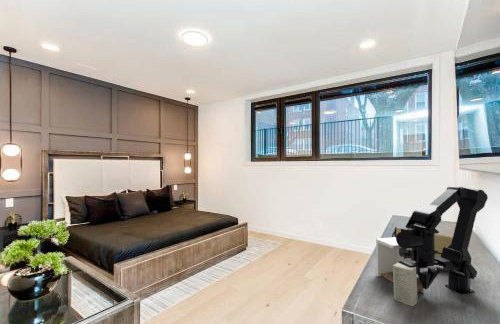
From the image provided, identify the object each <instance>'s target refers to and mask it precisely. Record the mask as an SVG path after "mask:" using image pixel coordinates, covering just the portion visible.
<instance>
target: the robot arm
mask: <svg viewBox="0 0 500 324" xmlns="http://www.w3.org/2000/svg"><path fill="white" fill-rule="evenodd" d="M488 199H489V198H488V195H487V193H486V192H485V190H483V189H479V188H478V189H477V188H468V187H467V188H466V187H463V186H456V185H451V186H448V187H446V189H445V191H444V192H442V193H441V194H440V195H439V196H438V197H437V198H436V199H434V200H433V201H432V202H431V203H429V204H428V205H425V206H421V207H419V208H417V209H414V211H412V213H411V216H410V217H409V219H408V222H407V223H406V225H405V228H404V227H400V228H401V232H399V233H398V234H397V236H396V241H397V244H398V245H399V246H400V247H401V248H399V255H400V256H401V257H403V258H404V259H406V258H411V260H412V261H416V263H413V262H411V261H408V260H403V261H399V262H398V263H400V264H403V265H405V266H407V267H410V268H413V267H416V275H417V277H418V276H419V279H420V281H421V284H422V286H423V290H429V288H430V286H431V284H433V282H434V280H435V279H436V277H437V276H438V275H439V274H441V270H437V269H438V268H437V267H442V266H443V267H442V268H443V269H442V270H447V271H450V272H448V279H447V280H448V281H447V282H448V284H444V287H445V288H448V289H449V290H452V291H454V292H456V293H458V294H460V295H467V294H473V293H476V291H475V290H473V289H471V280H475V278H476V277H477V274H478V270H477V269H476V268H475V267H474V266H473V265H472V256H471V254H470V253H469V245H470V242H471V237H472V234H473V229H474V225H475V223H476V221H475V220H476V217H477V214H478V213H479V212H480V211H482V210H483V209H484V208H485V206H486V202H487V201H488ZM455 204H457V206H458V208H459V211H458V215H457V218H456V224H455V227H454V230H453V235H452V237H453V238H452V242H451V245H450V246H448V247H444V248H443V250H442V254H441V257H435V254H438V251H437V250H435V234H439V233H440V231H439V230H438V229H436V227H438V226H439V224H440V223H441V221H442V216H443V214H445V213H446V212H447V211H448V210H449V209H451V207H452V206H453V205H455ZM408 248H412V249H410V250H407V249H408ZM447 271H446V272H447Z"/></svg>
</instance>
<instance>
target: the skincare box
mask: <svg viewBox="0 0 500 324" xmlns="http://www.w3.org/2000/svg"><path fill="white" fill-rule="evenodd" d="M417 277H418V274H416V267H413V268H410V267H407V266H405V265H403V264H400V263H398V262H397V263H396V264H394V265H393V282H392V283H393V300H395V301H398V302H400V303H403V304H405V305H407V306H411V307H414V306H416V304H417V303H418V301H419V300H418V292H417Z"/></svg>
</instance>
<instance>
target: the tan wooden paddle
mask: <svg viewBox="0 0 500 324" xmlns="http://www.w3.org/2000/svg"><path fill="white" fill-rule="evenodd" d="M381 277H383V278H385V279H386V280H387V281H390V282H391V283H393V272H390V273H382V276H381ZM419 292H424V288H423V286H422V284H421V281H420V279H419V276H418V275H417V293H419Z"/></svg>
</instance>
